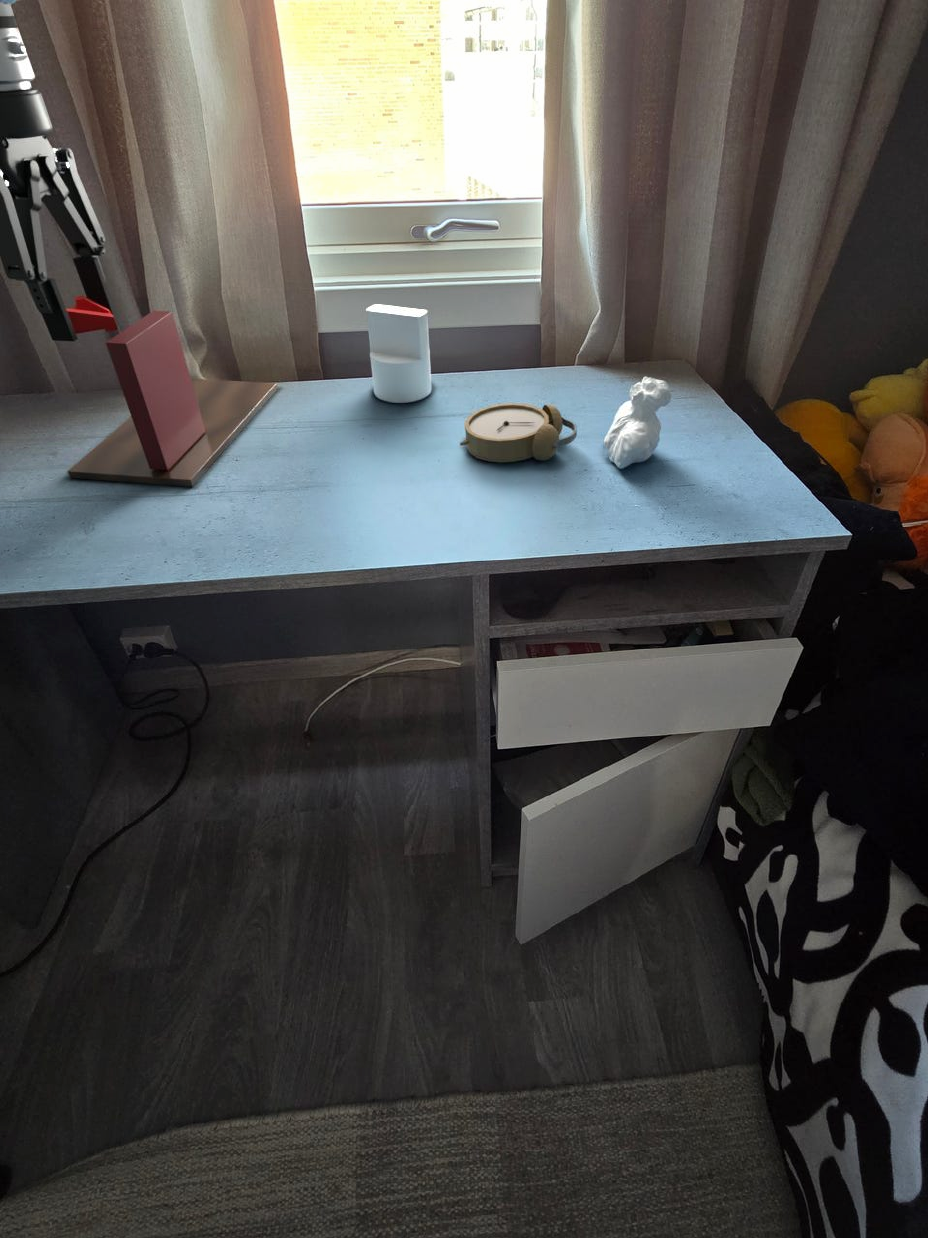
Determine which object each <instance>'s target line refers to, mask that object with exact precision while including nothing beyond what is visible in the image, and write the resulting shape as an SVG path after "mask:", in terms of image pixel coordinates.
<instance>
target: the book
mask: <svg viewBox="0 0 928 1238" xmlns="http://www.w3.org/2000/svg"><path fill="white" fill-rule="evenodd" d="M105 345H106V348H107V351H108V354H109V356H110V359H111V363H112V365H113V369H114V371H115V373H116V377H117V380H118V382H119V386H120V388H121V391H122V393H123V396H124V399H125V402H126V405H127V408H128V411H129V414H130V417H132V419H133V422H134V425H135V428H136V431H137V434H138V436H139V439H140V442H141V445H142V448H143V451H144V454H145V456H146V459H147V462H148V465H149V468H150V469H154V470H167V471H168V470H169V469H170V468H171V467H172V466H173V465H174V464H175V463H176V462H177V461H178V460H179V458H180V457H181V456H182V455H183V454H184V453H185V452H186V451H187V450H188V449H189V448H190V447H191V446H192V445H193V444H194V443H195V442H196V441H197V440H198V439H199V437H200V436H201V435H202V434H203V433H204V432H205V428H204V424H203V421H202V417H201V414H200V410H199V407H198V403H197V399H196V396H195V392H194V389H193V385H192V381H191V379H192V377H191V373H190V371H189V368H188V363H187V361H186V358H185V357H186V356H185V353H184V349H183V346H182V343H181V338H180V335H179V331H178V329H177V324H176V321H175V317H174V314H173V311H169V310H167V311H166V310H152V311H150V312H149V313H147V314H146V315H145V316H143V317H142V318H140V319H139V320H137V321H136V322H134V323H133V324H132V325H130V326H129V327H127V328H126V329H124V330H123V331H120V333H117V334H116V335H115V336H113V337H112V338H110V339H109V340H107V341H106V342H105Z"/></svg>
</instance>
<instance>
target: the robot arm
mask: <svg viewBox="0 0 928 1238" xmlns="http://www.w3.org/2000/svg"><path fill="white" fill-rule="evenodd" d="M18 1H20V0H0V260H1V261H0V262H1V264H2V267H3V271H4V273H5V276H6V277H7V278H8V279H10V280H15V281H17V282H19V281H20V282H24V283H25V284H26V286H27V287H28V290H29V293H30V295H31V298H32V300H33V302H34V305H35V307H36V309H37V311H38V312H39V314H41V316H42V318H43V321H44V323H45V326H46V328H47V331H48V333H49V335H50V338H51V340H52V341H54V342H55V341H56V342H76V341H78V335H77V334H76V333H75V331H74V328H73V326H72V323H71V320H70V318H69V315H68V313H67V310H66V308H67V307H66V305H65V303H64V299H63V296H62V295H61V292H60V289H59V287H58V284H57V282H56V281H57V280H56V279H55V278H53V277H51V278H50V277H48V270H47V263H46V256H45V249H44V242H43V235H42V227H41V219H40V210H42V207H43V204H44V206H45V207H46V209H47V211H48V212H49V213H50V215H51V216H52V218H53V220H54V221H55V222H56V224H57V226H58V227H59V229H60V230H61V232H62V234H63V235H64V237H65V238H66V240H67V241H68V243H69V244H70V246H71V247H72V249H73V251H74V252H75V254H76V255H78V256H75V257H73V258H72V261H73V264H74V266H75V269H76V271H77V275H78V277H79V280H80V283H81V285H82V288H83V291H84V293H85V297H86V298H88V299H90V300H92V301H94V302H96V303H98V304H100V305H102V306H104V307H106V308H108V309H109V310H110V312H111V314H112V315H113V317H114V318H115V316H117V312H116V308H115V306H114V302H113V300H112V297H111V293H110V291H109V288H108V285H107V280H106V276H105V273H104V270H103V267H102V264H101V261H100V258H99V257H103V256H106V254H107V253H106V248H105V245H106V243H107V240H106V237H105V235H104V232H103V229H102V227H101V225H100V223H99V220H98V217H97V216H96V212H95V210H94V208H93V206H92V204H91V201H90V199H89V197H88V194H87V192H86V189H85V187H84V184H83V181H82V180H81V177H80V175H79V173H78V169H77V165H76V160H75V155H74V152H73V151H72V149H71V148H70V147H53V146H52V144H51V143H50V142H49V141H50V140H49V139H48V138H47V135H49V134H51V133H52V131H53V124H52V121H51V118H50V115H49V112H48V109H47V106H46V104H45V101H44V98H43V93H42V92H41V91H39V89H38V88H37V87H32V83H31V82H32V81H34V80H35V78H36V75H35V72H34V70H33V67H32V63H31V61H30V58H29V56H28V53H27V49H26V47H25V44H24V41H23V39H22V38H23V37H22V35H21V32H20V29H19V27H18V23H17V20H16V17H15V14H14V11H13V8H12V5H13V4H15V3H16V2H18ZM91 232H92V233H91Z"/></svg>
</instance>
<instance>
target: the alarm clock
mask: <svg viewBox="0 0 928 1238" xmlns="http://www.w3.org/2000/svg"><path fill="white" fill-rule="evenodd" d="M563 426H564V427H566V428H569V429H571V430H572V433H571V434H569V435H568V436H567V435H566V436H565V437H563V438H560V435H561V433H562V431H563ZM577 427H578V426H577V424H576V423H575V422H574V421H572V420H570V419H568V418H565V417H563V416H562V414H561V411H560V410H559V408H558V407H556V406H554V405H553V404H544V405H543V406H542V408H539V407H537V406H535V405H530V404H526V403H513V402H512V403H499V404H495V405H490V406H487V407H484V408H480V409H478V410H476V411H475V412H473V413H471V414H470V415H469V416H468V417H467V418H466V419H465V420H464V431H465V439H464V440H462V441H461V442H459V445H460V446H466V449H467V451H468V453H469V454H470V455H472V456H473V457H475V458H476V459H479V460H481V461H486V462H492V463H513V462H514V463H515V462H519V461H523V460H528V459H530V458H534V459H535V460H537V461H547V460H550V459H551V458H552V457H553V456H554V455H555V454H556V453H557V450H558V449H559V447H560V448H561V447H563V446H566V445H569V444H571V443H572V442H574V441H575V440H576V438H577V435H578V428H577Z"/></svg>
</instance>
